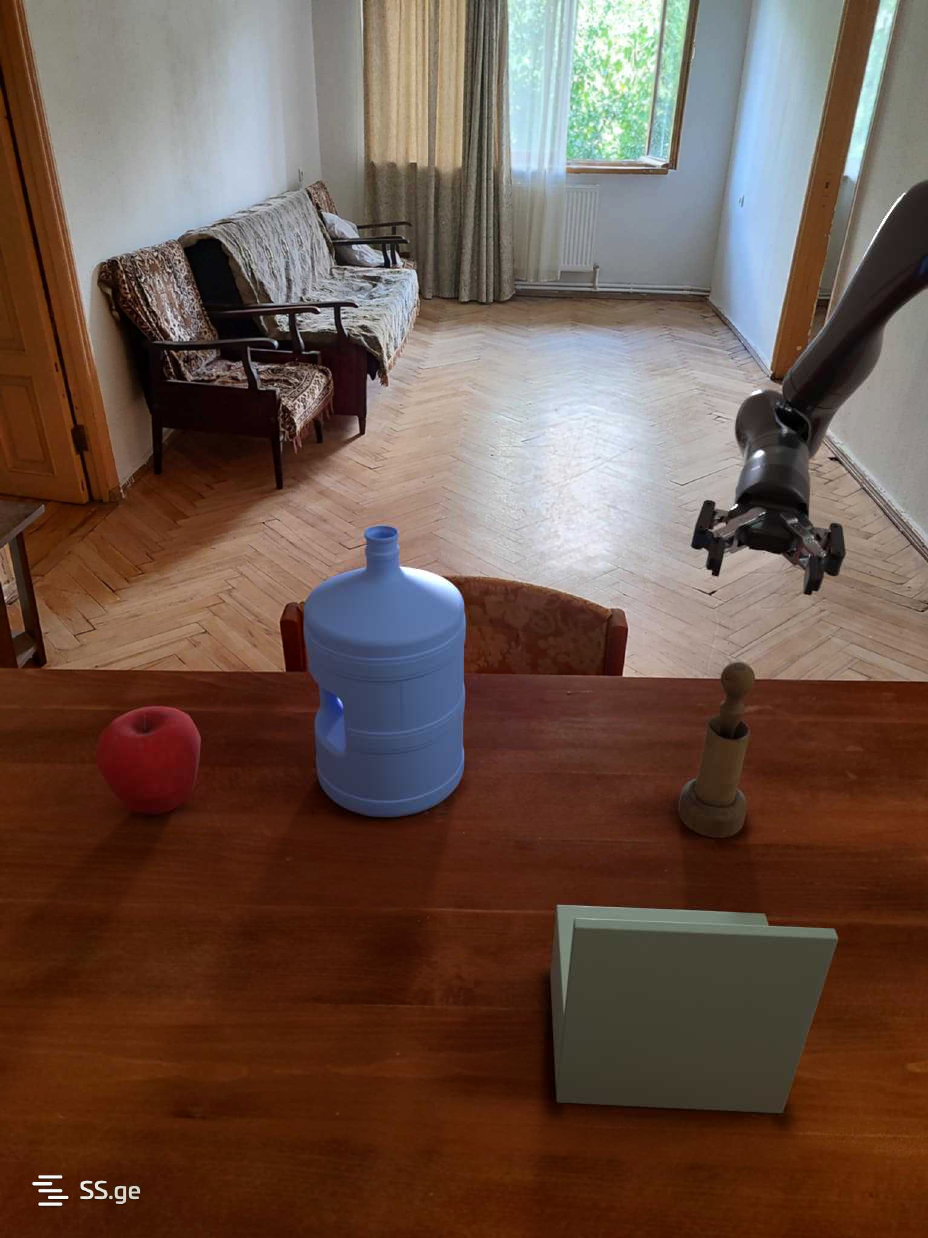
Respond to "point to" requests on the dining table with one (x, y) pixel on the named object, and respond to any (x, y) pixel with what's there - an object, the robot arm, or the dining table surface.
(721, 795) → the mortar and pestle
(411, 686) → the water jug
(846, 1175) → the dining table surface
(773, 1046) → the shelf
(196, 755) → the apple
